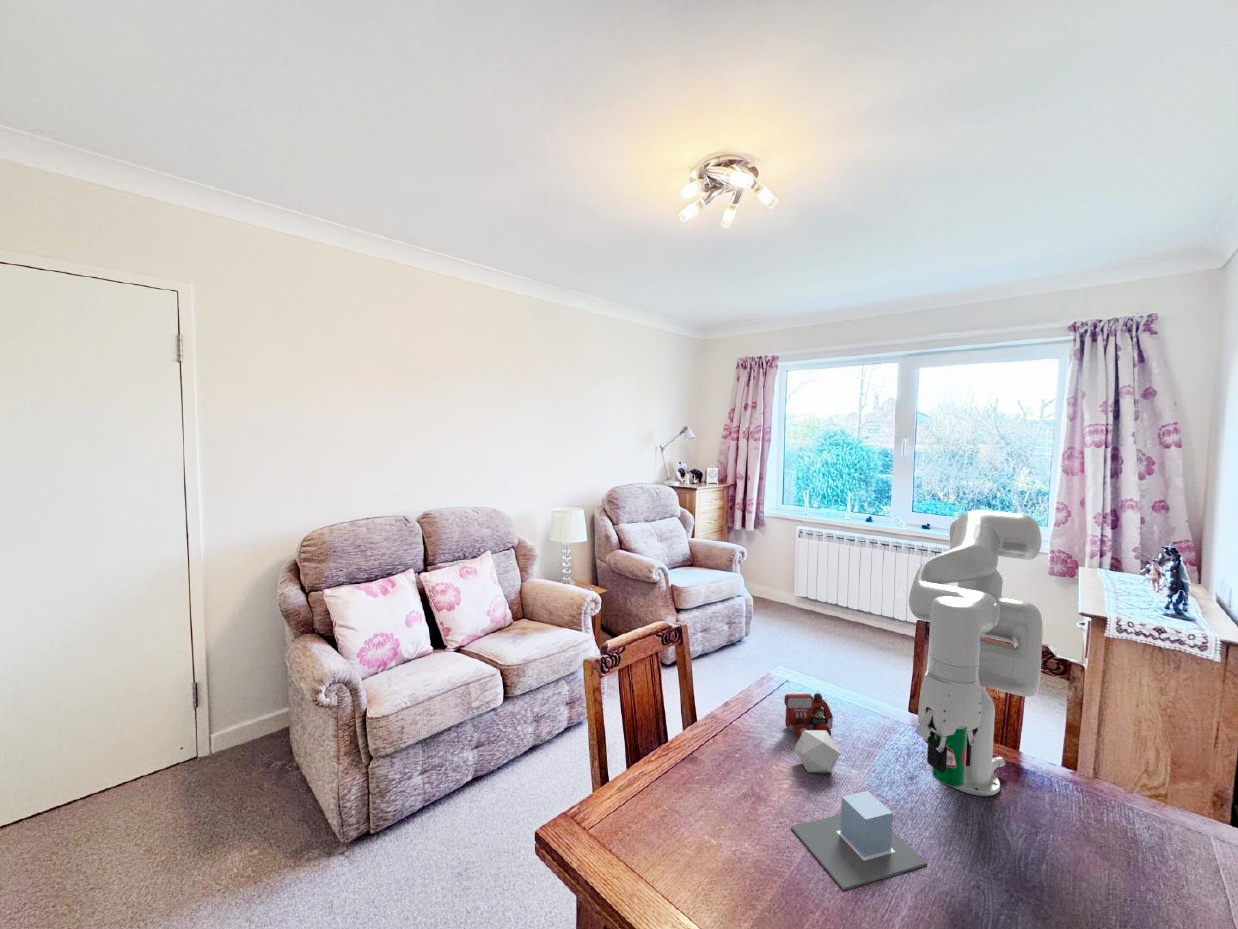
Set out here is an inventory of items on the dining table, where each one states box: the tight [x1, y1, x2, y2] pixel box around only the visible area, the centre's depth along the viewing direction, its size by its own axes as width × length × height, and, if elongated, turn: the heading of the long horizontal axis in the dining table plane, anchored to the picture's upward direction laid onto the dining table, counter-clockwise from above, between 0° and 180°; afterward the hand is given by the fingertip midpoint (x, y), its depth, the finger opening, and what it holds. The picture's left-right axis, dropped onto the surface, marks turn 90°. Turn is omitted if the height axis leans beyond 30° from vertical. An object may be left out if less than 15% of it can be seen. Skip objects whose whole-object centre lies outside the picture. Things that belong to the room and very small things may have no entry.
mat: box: [790, 813, 928, 891], centre depth 94 cm, size 18×14×1 cm
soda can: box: [931, 726, 968, 788], centre depth 92 cm, size 5×5×12 cm
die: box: [794, 730, 841, 773], centre depth 116 cm, size 8×9×10 cm
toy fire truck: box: [784, 692, 834, 741], centre depth 129 cm, size 7×12×10 cm, turn 94°
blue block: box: [840, 790, 894, 857], centre depth 94 cm, size 6×6×7 cm
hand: (948, 763), depth 92 cm, fingers closed on soda can, 5 cm apart
